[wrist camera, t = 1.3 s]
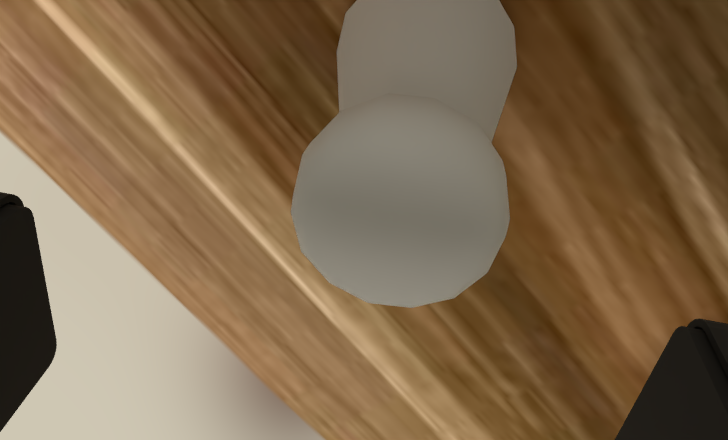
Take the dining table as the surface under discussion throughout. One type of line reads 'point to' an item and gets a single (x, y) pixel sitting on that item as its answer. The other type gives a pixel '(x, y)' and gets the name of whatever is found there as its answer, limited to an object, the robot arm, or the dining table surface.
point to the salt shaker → (410, 152)
